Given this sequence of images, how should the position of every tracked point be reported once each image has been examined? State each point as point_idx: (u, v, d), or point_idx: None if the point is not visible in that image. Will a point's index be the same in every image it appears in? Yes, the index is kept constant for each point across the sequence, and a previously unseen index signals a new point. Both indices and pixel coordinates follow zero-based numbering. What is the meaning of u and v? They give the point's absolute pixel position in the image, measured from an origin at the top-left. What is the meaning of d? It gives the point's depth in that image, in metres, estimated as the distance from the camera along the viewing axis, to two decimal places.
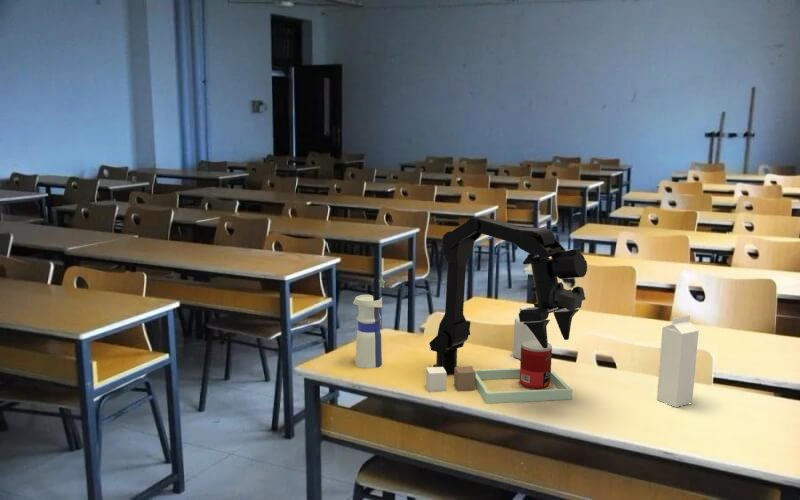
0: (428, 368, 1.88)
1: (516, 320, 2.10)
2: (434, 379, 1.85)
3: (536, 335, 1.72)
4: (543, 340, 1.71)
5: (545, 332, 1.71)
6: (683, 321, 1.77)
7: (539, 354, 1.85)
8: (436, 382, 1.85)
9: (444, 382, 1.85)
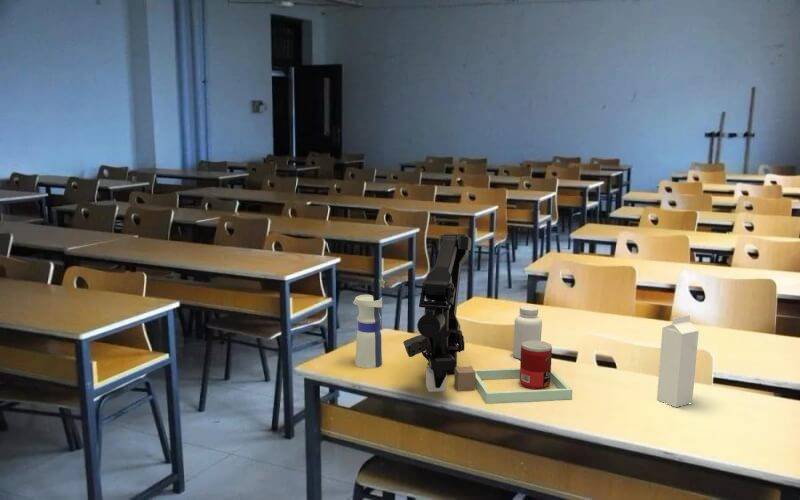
0: (428, 368, 1.88)
1: (516, 320, 2.10)
2: None
3: None
4: None
5: None
6: (683, 321, 1.77)
7: (539, 354, 1.85)
8: None
9: (444, 382, 1.85)
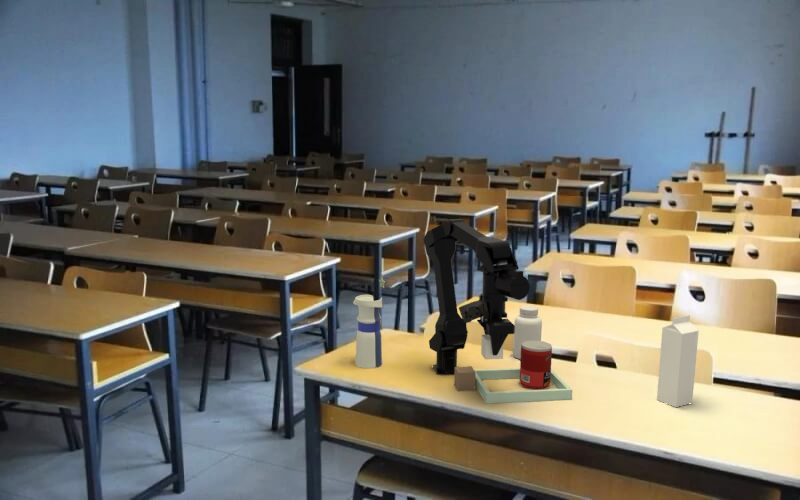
0: (484, 335, 1.82)
1: (516, 320, 2.10)
2: (490, 345, 1.79)
3: None
4: None
5: (485, 333, 1.84)
6: (683, 321, 1.77)
7: (539, 354, 1.85)
8: None
9: (501, 349, 1.79)
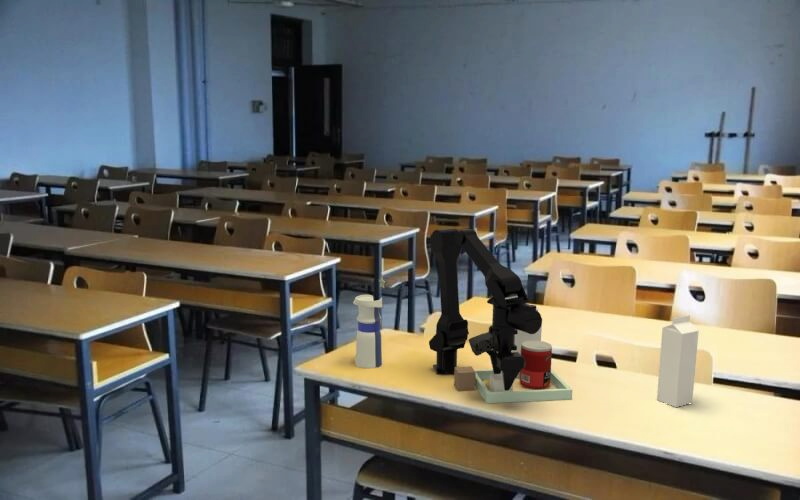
0: (492, 375, 1.83)
1: None
2: (500, 386, 1.80)
3: None
4: None
5: (491, 361, 1.87)
6: (683, 321, 1.77)
7: (539, 354, 1.85)
8: (502, 390, 1.81)
9: (510, 389, 1.81)
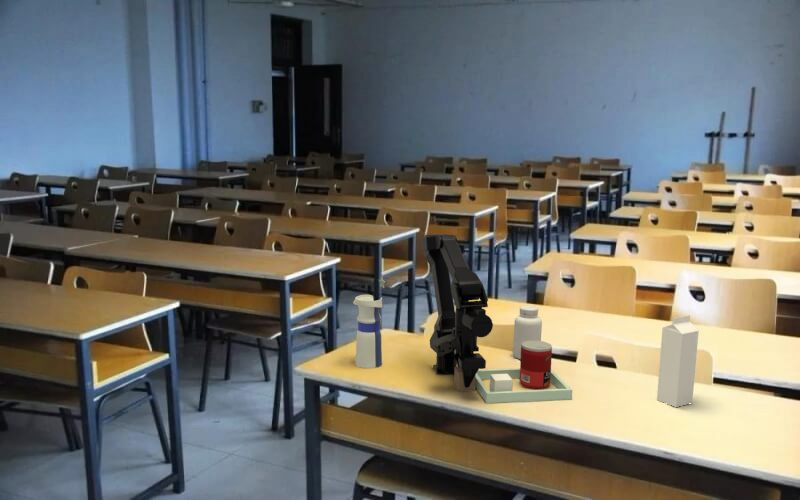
0: (492, 375, 1.83)
1: (516, 320, 2.10)
2: (500, 386, 1.80)
3: None
4: None
5: (457, 365, 1.90)
6: (683, 321, 1.77)
7: (539, 354, 1.85)
8: (502, 390, 1.81)
9: (510, 389, 1.81)
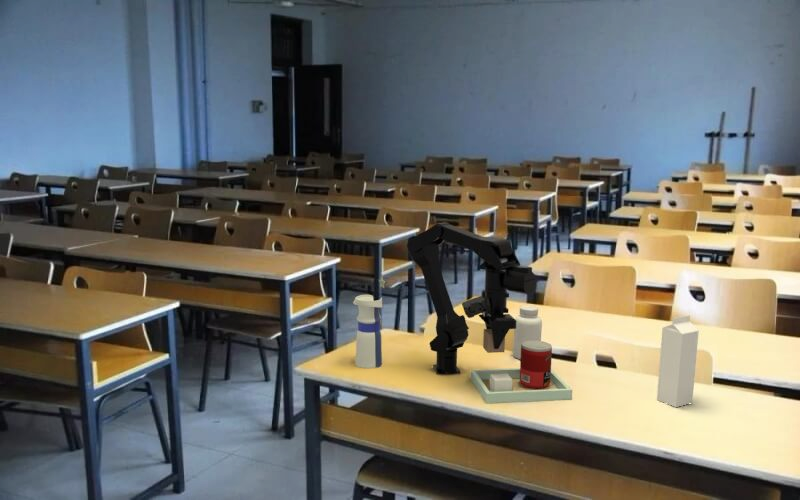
0: (492, 375, 1.83)
1: (516, 320, 2.10)
2: (500, 386, 1.80)
3: None
4: None
5: (486, 328, 1.91)
6: (683, 321, 1.77)
7: (539, 354, 1.85)
8: (502, 390, 1.81)
9: (510, 389, 1.81)
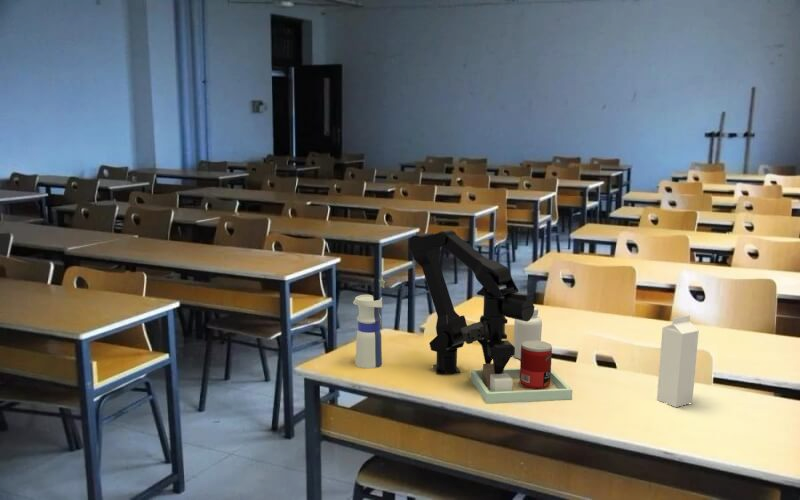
0: (492, 375, 1.83)
1: (516, 320, 2.10)
2: (500, 386, 1.80)
3: None
4: None
5: (483, 350, 1.94)
6: (683, 321, 1.77)
7: (539, 354, 1.85)
8: (502, 390, 1.81)
9: (510, 389, 1.81)
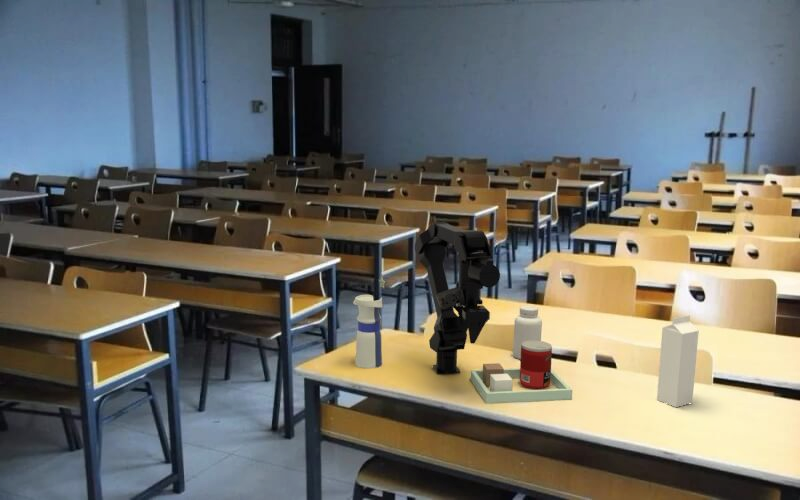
0: (492, 375, 1.83)
1: (516, 320, 2.10)
2: (500, 386, 1.80)
3: None
4: None
5: (459, 317, 1.92)
6: (683, 321, 1.77)
7: (539, 354, 1.85)
8: (502, 390, 1.81)
9: (510, 389, 1.81)
